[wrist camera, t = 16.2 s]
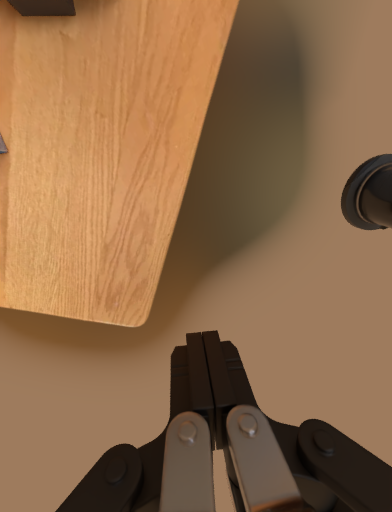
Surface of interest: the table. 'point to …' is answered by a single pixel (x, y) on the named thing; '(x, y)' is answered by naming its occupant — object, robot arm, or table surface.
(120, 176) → the table surface
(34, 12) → the storage box
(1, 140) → the medicine box
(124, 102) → the table surface
